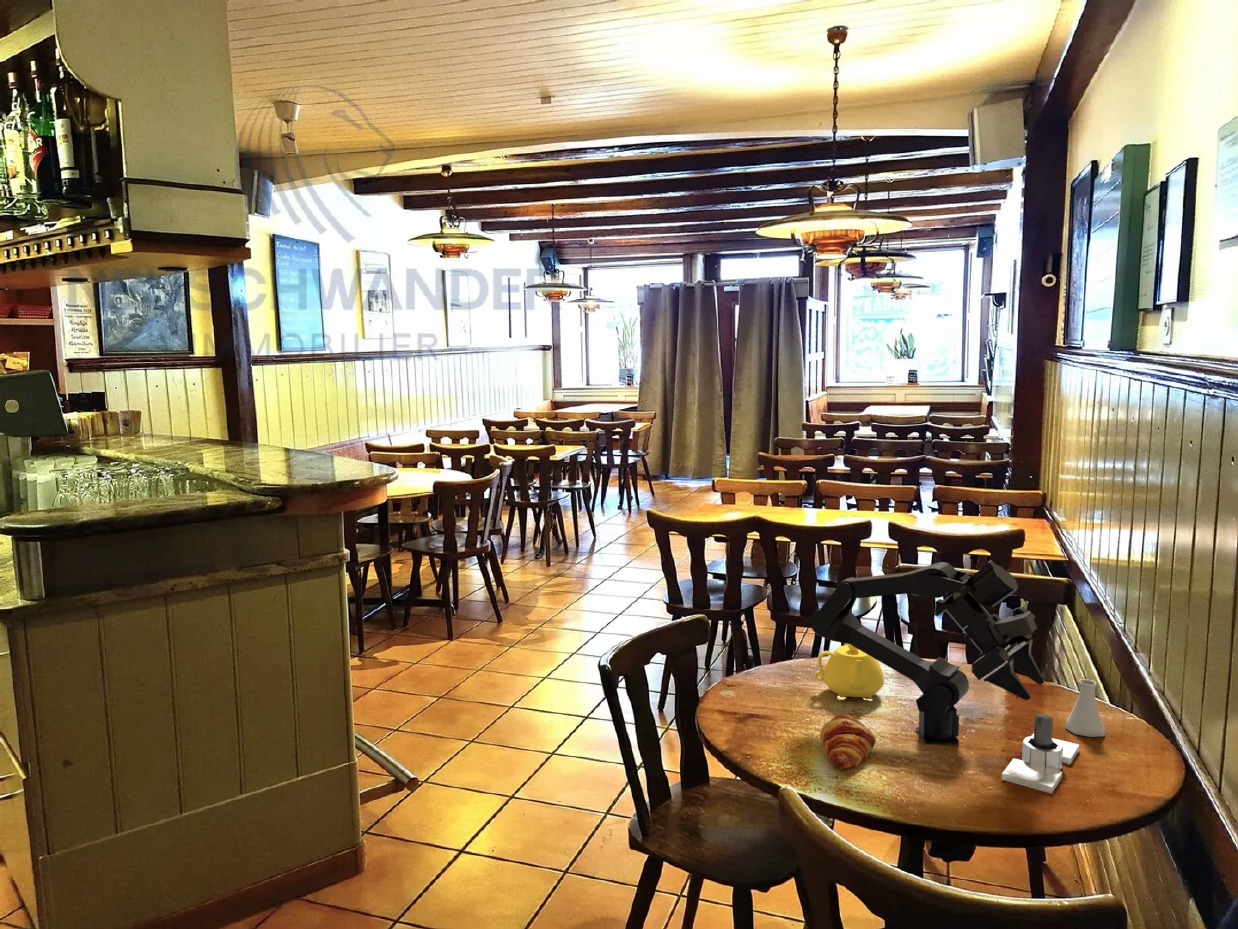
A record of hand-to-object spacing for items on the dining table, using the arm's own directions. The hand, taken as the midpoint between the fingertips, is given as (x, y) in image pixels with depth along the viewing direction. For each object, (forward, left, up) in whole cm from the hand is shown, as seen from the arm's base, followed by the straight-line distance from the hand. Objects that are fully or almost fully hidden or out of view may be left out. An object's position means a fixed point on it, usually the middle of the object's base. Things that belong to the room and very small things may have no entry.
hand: (1035, 691), depth 155 cm
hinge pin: (+1, -1, -14) cm, 14 cm away
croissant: (-32, +5, -14) cm, 36 cm away
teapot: (-26, +33, -14) cm, 44 cm away
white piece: (+1, -1, -14) cm, 14 cm away
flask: (+16, +14, -14) cm, 25 cm away
